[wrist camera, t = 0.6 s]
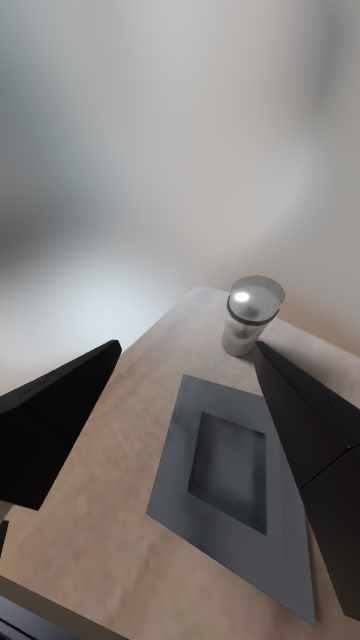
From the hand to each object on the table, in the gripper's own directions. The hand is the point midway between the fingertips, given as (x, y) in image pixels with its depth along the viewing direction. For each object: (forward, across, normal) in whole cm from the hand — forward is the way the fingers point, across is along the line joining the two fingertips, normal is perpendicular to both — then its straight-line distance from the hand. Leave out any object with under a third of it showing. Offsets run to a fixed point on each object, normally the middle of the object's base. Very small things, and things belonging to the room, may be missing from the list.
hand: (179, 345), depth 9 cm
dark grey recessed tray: (0, -4, +18) cm, 18 cm away
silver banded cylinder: (+13, -7, +11) cm, 18 cm away
